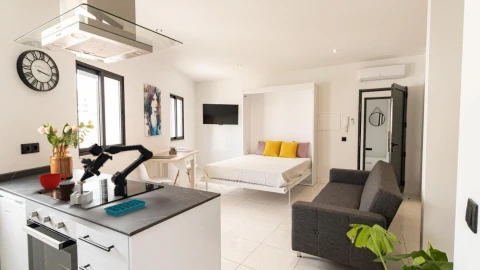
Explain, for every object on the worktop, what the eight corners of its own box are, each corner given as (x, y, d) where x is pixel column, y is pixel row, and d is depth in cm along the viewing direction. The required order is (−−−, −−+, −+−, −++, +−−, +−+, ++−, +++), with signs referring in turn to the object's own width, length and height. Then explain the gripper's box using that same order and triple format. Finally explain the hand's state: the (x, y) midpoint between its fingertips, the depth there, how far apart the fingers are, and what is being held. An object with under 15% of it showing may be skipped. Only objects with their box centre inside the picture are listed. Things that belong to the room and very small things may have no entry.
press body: (92, 199, 154) (92, 190, 154) (85, 205, 143) (85, 195, 143) (77, 200, 152) (76, 191, 152) (68, 206, 141) (68, 196, 141)
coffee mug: (67, 200, 152) (66, 184, 152) (55, 199, 154) (55, 184, 154) (82, 195, 164) (82, 180, 163) (71, 194, 165) (71, 179, 165)
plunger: (89, 192, 153) (89, 179, 152) (85, 195, 146) (85, 182, 146) (78, 193, 151) (77, 180, 151) (73, 196, 145) (73, 183, 144)
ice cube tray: (148, 206, 142) (148, 201, 142) (115, 218, 125) (115, 212, 125) (135, 203, 148) (135, 198, 148) (102, 213, 131) (102, 208, 131)
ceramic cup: (70, 186, 186) (70, 173, 185) (43, 191, 171) (43, 177, 171) (63, 184, 193) (62, 171, 192) (36, 189, 178) (36, 175, 178)
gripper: (85, 151, 158) (65, 171, 150) (94, 154, 144) (72, 175, 137) (99, 162, 164) (81, 181, 156) (108, 165, 150) (88, 186, 143)
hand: (80, 181), depth 148 cm, fingers closed, pressing on plunger
